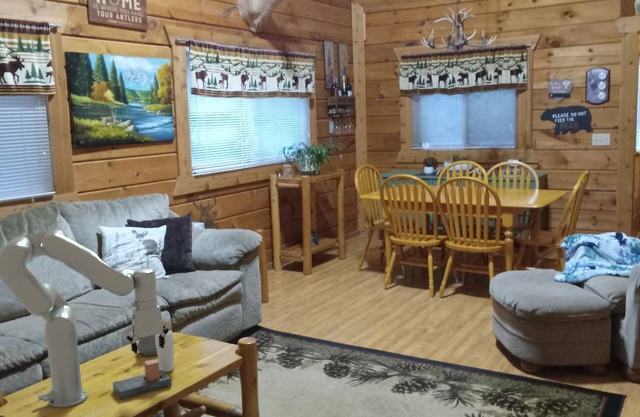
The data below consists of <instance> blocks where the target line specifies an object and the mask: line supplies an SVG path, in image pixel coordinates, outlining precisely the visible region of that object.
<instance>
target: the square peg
mask: <svg viewBox="0 0 640 417" xmlns="http://www.w3.org/2000/svg"><path fill="white" fill-rule="evenodd" d="M159 371H160V368H159V361H158V360H157V359H156V358H154V359H150V360H145V361H144V372H145V373H144V374H145V376H146V381H147V382H150V381H153V380H157V379H160V372H159Z"/></svg>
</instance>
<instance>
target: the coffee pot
mask: <svg viewBox="0 0 640 417" xmlns="http://www.w3.org/2000/svg"><path fill="white" fill-rule="evenodd" d="M165 327H166V325H163V330H164V329H165ZM138 339H139V340H138V341H137V352H139V353H140V354H141V355H143V356H153V355H157V349H156V343H155V335H152V336H147V337H141V338H138Z"/></svg>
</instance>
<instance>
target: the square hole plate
mask: <svg viewBox="0 0 640 417" xmlns="http://www.w3.org/2000/svg"><path fill="white" fill-rule="evenodd" d="M159 372H160V379H157V380H153V381H150V382H147V381H146V376H145V373H144V374H142V375H137V376H133V377H129V378H125V379H121V380H118V381H113V382H112V389H113V392H114V393H115V394H116V395H117V397H118V398H119V399H120V400H121V401H122V400H127V399H130V398H134V397H138V396H141V395H144V394H147V393H148V394H149V393H152V392H155V391H159V390H162V389H166V388H170V387H172V379H171V377H170V376H169V375H167V373H166V372H163V371H162V370H160V369H159Z"/></svg>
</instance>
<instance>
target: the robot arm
mask: <svg viewBox="0 0 640 417" xmlns="http://www.w3.org/2000/svg"><path fill="white" fill-rule="evenodd" d="M44 256H46V257H48V258H50V259H52V260H53V261H55V262H57V263H60V265H61V264H62V265H63V266H65V267H67V268H69V269H71V270H73V271H74V272H76V273H78V274H80V275H81V276H82V277H84V278H85V279H88V280H89V281H90V282H91V283H93V284H95V285H96V286H98V287H100V288H102V289H103V290H105V291H107V292H109V293H111V294H112V295H115V296H117V297H126V296H129V295H130V294H131V293H132V292H133V291H134V301H132V302H131V303H130V306H131V308H132V307H134V308H133V311H132V318H131V325H130V326H129V327H127V328H126V329H124V330H123V331H122V334H123V335H124V337H125V338H126V339H127V341H129V342H130V343H131V344H130V345H131V351H132V352H133V353H134V354H135V355H137V354H138V352H139V351H138V349H137V345H138V342H137V340H138V339H140V338H141V337H147V336H152V335H157V334H160V335H159V346H160V347H161V348H164V345H165V336H166V334H167V333H168V331H169V330H171V327H172V323H171V322H170V321H169V322H168V321H167V320H163V316H162V311H161V307H160V305H158V302H157V301H158V300H157V299H158V298H157V297H158V296H157V280H156V279H157V278H156V272H155V270H154V269H152V268H142V269H137V270H136V269H119V270H116V269H115V268H113V267H111V266H109V265H108V264H107V263H105V262H104V261H103V260H102V259H101V258H100V257H99V256H98V254H96V253H95V252H94V251H92V250H91V249H89V248H87V247H85V246H83V245H81V244H80V243H78V242H76V241H74V240H72V239H71V238H69V237H68V235H67V233H65V232H64V231H62V230H60V229H50V230H46V231H45V230H44V231H40V232H34V233H31V234H24V235H19V236H16V237H14V238H11V239H10V240H9V241H8V243H6V245H5V246H4V247H3V249H2V251H1V252H0V280H1V281H2V283H3V284H4V285H5V286H6V287H7V288H8V290H9V291H10V292H11V293H12V294H13V295H14V297H15V298H16V299H17V300H18V301H19V302H20V304H21V305H23V307H24V308H25V309H26V310H27V311H28V312H29V313H30V314H31V315H33V316H34V317H42V319H44V321H45V327H44V336H45V340H46V346H47V355H48V362H49V372H50V380H51V382H50V383H51V388H50V389H49V390H50V391H47V393H44V394H43V393H42V394H39V395H37V399H38V402H41V401H43V402H48V405H49V406H51V407H53V408H56V409H57V408H58V409H59V408H60V409H61V408H69V407H73V406H76V405H79V404H81V403H83V402H84V401H85V400H87V398H88V392H87V391H86V390H84V389H83V386H82V385H83V384H82V377H81V376H82V375H81V366H80V364H81V363H80V357H79V356H80V355H79V348H78V347H79V346H78V339H77V329H76V328H77V313H76V312H75V310H74V309H73V308H72V306H71V305H70V304H69V303H68V301H67V300H66V299H65V298H64V297H63V295H61V294H60V292H58V290H57V289H56V288H55V287H54V286H52V285H51V284H49V283H45V282H40V280H38V278H37V277H36V276H35V275H34V274H33V273H32V272H31V271H30V270H29V269H28V267H27V263H28V261H30V259H35V258H39V257H44ZM163 325H166V327H165V328H164V329H163ZM131 332H132V335H131V336H130V334H129V333H131Z"/></svg>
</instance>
